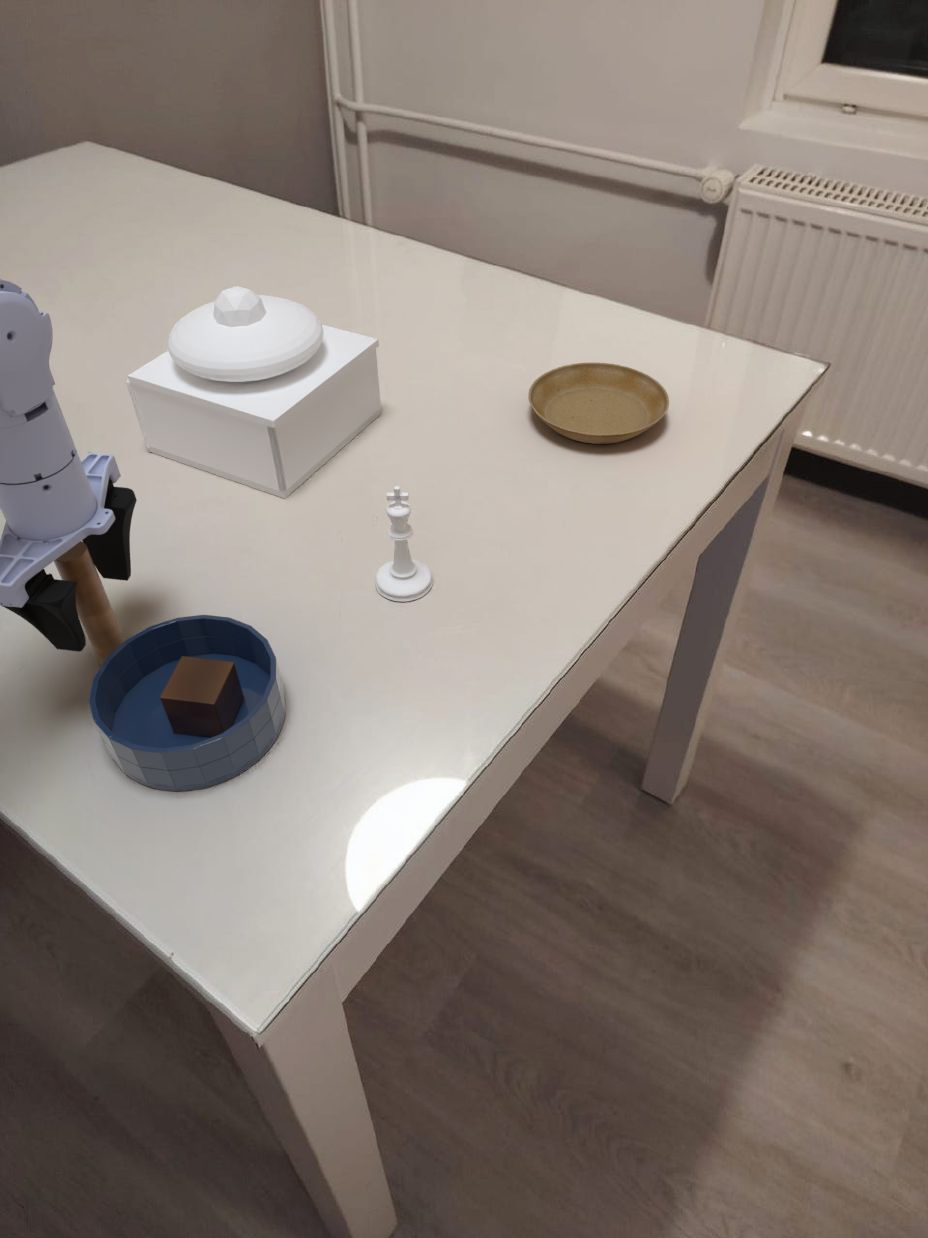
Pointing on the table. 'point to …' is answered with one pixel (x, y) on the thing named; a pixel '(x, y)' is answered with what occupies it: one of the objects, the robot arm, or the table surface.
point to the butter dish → (256, 391)
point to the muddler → (91, 601)
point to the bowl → (141, 723)
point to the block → (202, 696)
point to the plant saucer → (598, 402)
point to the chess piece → (402, 557)
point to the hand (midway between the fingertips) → (95, 610)
